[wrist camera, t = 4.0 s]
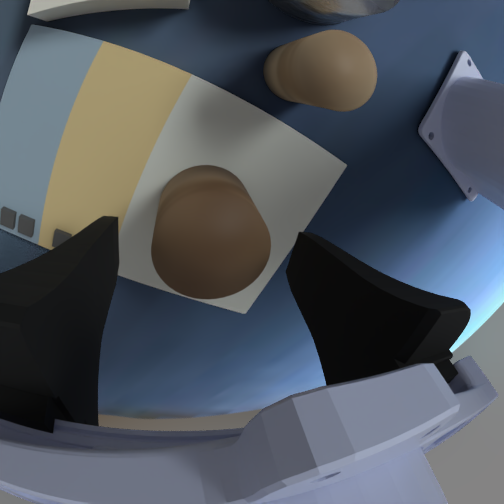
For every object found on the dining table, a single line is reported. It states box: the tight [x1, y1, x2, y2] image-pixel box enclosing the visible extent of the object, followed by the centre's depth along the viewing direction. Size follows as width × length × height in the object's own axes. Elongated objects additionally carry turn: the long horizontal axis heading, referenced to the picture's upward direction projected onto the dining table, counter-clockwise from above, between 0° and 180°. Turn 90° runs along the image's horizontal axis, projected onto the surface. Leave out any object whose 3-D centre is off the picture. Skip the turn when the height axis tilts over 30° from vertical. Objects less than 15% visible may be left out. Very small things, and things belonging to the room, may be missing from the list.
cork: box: [263, 30, 377, 111], centre depth 9 cm, size 3×3×4 cm
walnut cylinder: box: [151, 165, 271, 299], centre depth 12 cm, size 4×4×4 cm
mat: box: [0, 24, 347, 314], centre depth 12 cm, size 18×11×1 cm, turn 60°
